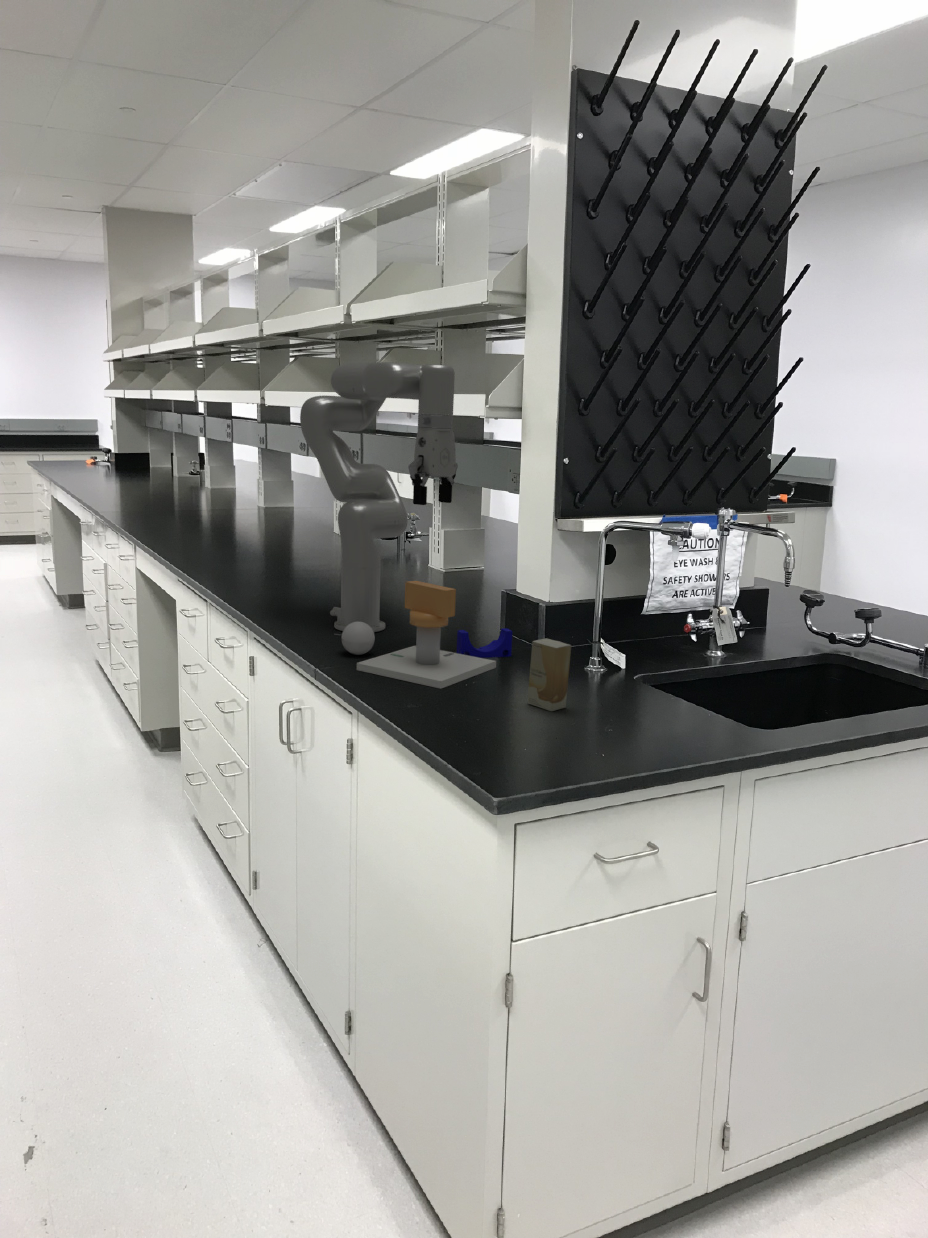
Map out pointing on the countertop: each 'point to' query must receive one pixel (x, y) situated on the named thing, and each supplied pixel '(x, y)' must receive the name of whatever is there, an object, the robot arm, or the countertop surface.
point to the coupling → (429, 604)
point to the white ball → (358, 638)
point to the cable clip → (493, 649)
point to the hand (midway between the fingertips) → (432, 503)
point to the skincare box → (549, 674)
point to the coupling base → (427, 671)
